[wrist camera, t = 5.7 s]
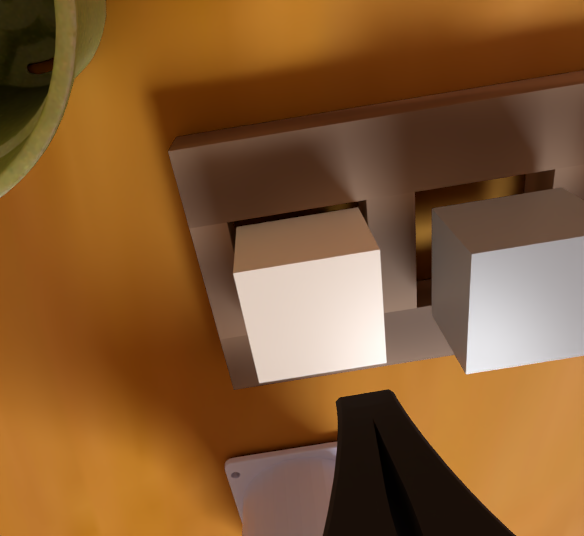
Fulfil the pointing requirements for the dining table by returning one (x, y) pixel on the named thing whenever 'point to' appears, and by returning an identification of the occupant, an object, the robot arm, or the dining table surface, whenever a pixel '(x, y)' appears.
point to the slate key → (510, 279)
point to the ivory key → (311, 294)
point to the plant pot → (40, 87)
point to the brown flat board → (373, 186)
